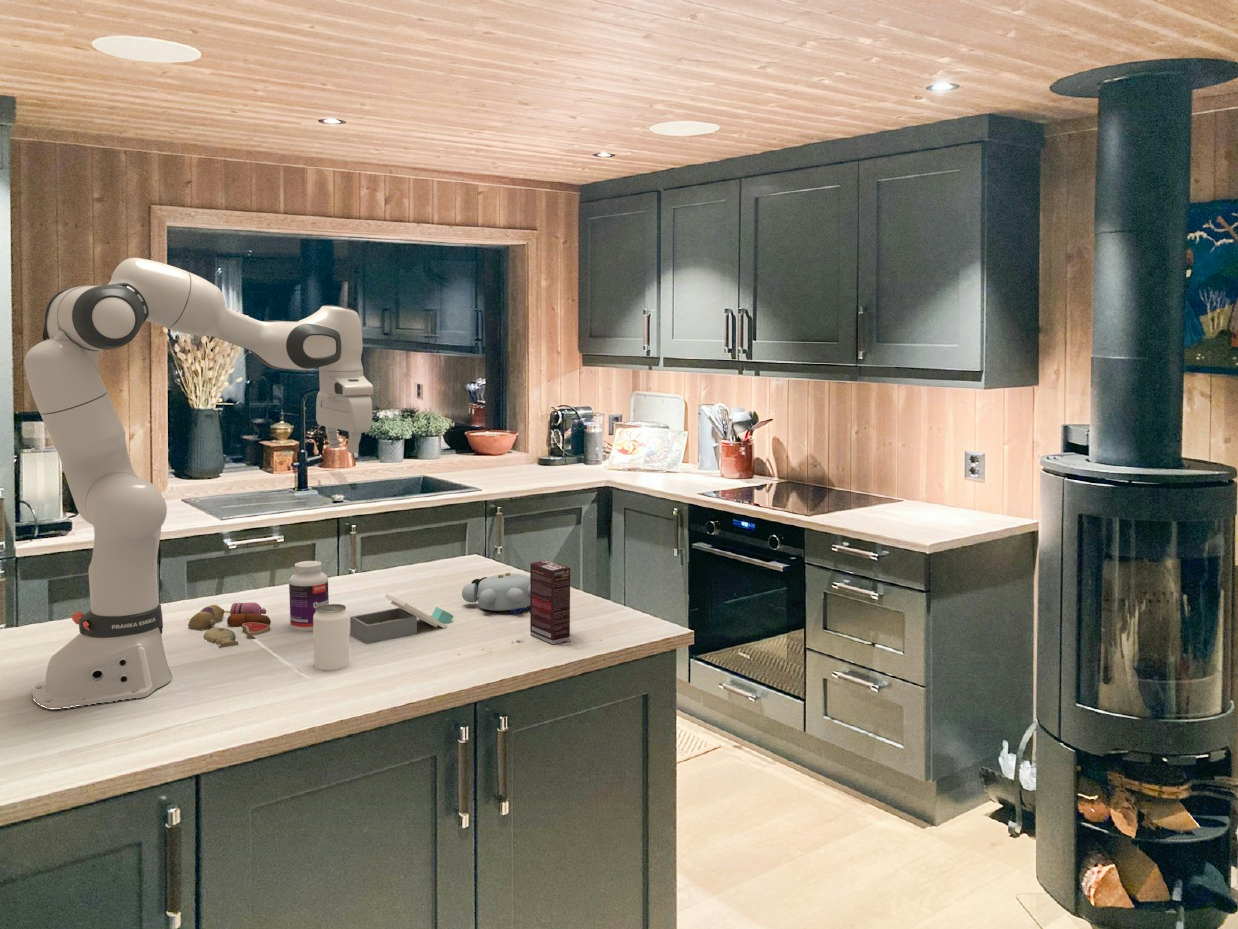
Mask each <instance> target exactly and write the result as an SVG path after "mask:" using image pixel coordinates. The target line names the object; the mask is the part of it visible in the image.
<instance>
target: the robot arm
mask: <svg viewBox="0 0 1238 929" xmlns="http://www.w3.org/2000/svg"><path fill="white" fill-rule="evenodd" d="M110 277H111V278H110V281H109V282H108V284H104V285H91V284H90V285H88V284H86V285H81V286H76V287H70V288H69V287H68V288H66V289H63V290H61V291H59V292H57V293H56V294H54V295H53V296H52V297H51V298H50V300H49V301H48V302H47V305H46V308H45V311H44V318H43V320H44V323H43V329H42V330H43V331H42V340H43V341H40V342H39V343H37V344H35V345H34V346H32V347H31V348H30V349H29V350H28V352H27V353H26V355H24V356H25V357H24V360H23V363H24V364H23V365H24V369H25V375H26V378H27V382H28V386H29V390H30V393H31V396H32V397H33V401H34V403H35V406H36V408H37V410H38V412H39V414H40V416H41V419H42V421H43V423H44V426H45V428H46V430H47V432H48V434H49V437H50V439H51V440H52V444H53V446H54V447H55V450H56V452H57V455H58V456H59V459H60V463H61V465H62V469H63V473H64V476H65V480H66V482H67V485H68V488H69V491H70V494H71V497H72V500H73V502H74V506H75V508H76V509H77V510H76V511H77V512H78V514H79V515H80V517H81V518H82V519H83V520H84V521H86V522H87V523H88V524H90V525H92V526H93V531H94V536H93V537H94V540H93V549H92V555H91V562H90V563H89V565H88V570H87V571H88V584H89V586H88V587H89V601H90V610H89V611H86V613H85V614H84V612H82V611H75V612H74V613H73V614H72V615H71V616H72V617H71V619H72V621H73V622H74V623H75V624H76V625H78V630H79V634H78V635H76V636H75V637H74V638H72V639H71V640H70V641H69V642H68V643H66V644H65V645H64V646H63V647H62V648H60V649H59V650H58V651H57V652H55V653H54V654H52V656H51V657H50V658H49V661H48V664H47V667H46V674H45V681H42V682H39V683H37V684H36V685H35V686H33V688H32V694H31V696H32V695H33V698H34V699H35V701H36V702H37V703H39V704H40V705H43V706H45V707H47V708H63V707H70V706H76V705H88V706H90V705H89V704H94V703H95V705H97V704H96V703H101V702H108V703H114V702H113V701H115V702H119V701H118V700H122V701H125V700H124V699H129V700H131V699H130V698H136V699H140V698H141V699H142V698H146V697H148V696H150V695H151V694H152V693H153V692H154V691H156V690H157V689H159V688H161V687H163V686H166V684H168V683H170V681H172V679H173V675H172V672H171V669H170V666H169V664H168V660H167V658H166V654H165V649H164V648H165V647H164V644H163V636H162V634H163V628H164V619H163V618H164V617H163V609H162V604H160V603H159V588H158V586H159V584H158V571H157V569H158V568H157V567H158V565H157V564H158V554H159V553H158V552H159V546H160V541H161V533H162V527H163V525H164V523H165V520H166V517H167V512H168V509H167V503H166V500H165V498H164V497H163V495H162V493H161V492H160V491H159V489H158V487H157V486H156V485H154V484H153V483H152V482H151V481H149V480H147V479H146V478H145V479H144V478H142V477H139V476H138V475H137V473H136V472H135V470H134V468H133V465H132V463H131V460H130V456H129V451H128V448H127V442H126V432H125V428H124V426H123V424H122V422H121V420H120V418H119V415H118V412H117V409H116V408H115V406H114V404H113V401H112V399H111V397H110V394H109V392H108V390H107V388H106V385H105V383H104V381H103V379H102V376H101V375H100V369H99V356H100V353H101V351H111V350H112V351H113V350H117V349H120V348H123V347H125V346H127V345H129V343H131V342H132V341H133V340H134V338H136V337H137V335H138V334H139V331H140V330H141V328H142V326H143V325H144V323H145V322H148V323H149V322H150V323H152V324H155V325H157V326H160V327H163V328H166V329H168V330H172V331H175V332H178V333H182V334H186V335H191V336H199V337H206V336H207V337H213V338H217V339H219V340H222V341H224V342H227V343H230V344H232V345H235V346H236V347H237V346H238V347H240V348H243V349H245V350H247V351H248V352H249V353H251V354H252V355H253V356H254V357H256V359H257V360H258V361H259V362H260V363H261V364H263V365H264V366H266V367H268V368H269V369H270V368H271V369H274V370H285V369H288V370H299V371H301V370H303V371H310V370H313V369H317V368H318V370H319V372H318V373H319V375H318V376H319V379H318V380H319V391H318V393H317V395H316V401H315V402H316V404H315V405H316V406H315V410H316V411H315V414H316V415H315V419H316V422H317V425H318V426H323V427H325V434H326V436H327V440H328V447H329V448H331V449H339V448H340V447H341V446H340V439H339V438H338V430H340V431H345V432H348V437H349V441H348V443H347V445H346V446H347V452H348V453H350V454H357V453H359V451H360V450H359V449H360V448H359V444H360V442H361V437H362V434H363V433H369V432H370V431H371V428H372V426H373V425H372V424H373V400H372V398H371V396H372V395H374V385H373V384H372V383H371V382H370V381H369V380H368V379H367V378H366V377H365V375H364V367H363V365H362V364H363V363H362V354H363V331H362V324H361V319H360V317H359V314H358V312H357V311H355V310H354V309H353V308H350V307H347V306H341V305H334V304H324V305H322V306H321V307H320V308H319V309H318V310H317V311H316V312H314V313H312V314H311V315H309V316H307V317H305V318H303V319H300V320H298V321H287V320H277V319H276V320H274V319H273V320H264V321H263V320H258V319H256V318H253V317H250V316H249V315H246V314H244V313H242V312H239V311H237V310H234V309H231V308H229V307H227V306H226V301H225V298H224V295H223V293H222V291H221V288H219V287H218V286H217V285H215V284H214V283H212V282H211V281H208V280H207V279H206V278H203V277H201V276H199V275H197V274H194V273H192V272H191V271H190V272H189V271H188V270H185V269H181V268H179V267H177V266H173V265H171V264H167V263H163V262H160V261H156V260H151V259H147V258H142V257H130V258H129V257H128V258H126V259H124V260H123V261H122V262H121V263H119V264H118V265H117V267H116V268H115V269H114V271H113V272H112V275H111V276H110ZM33 698H32V699H33Z"/></svg>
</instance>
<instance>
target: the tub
mask: <svg viewBox="0 0 1238 929" xmlns="http://www.w3.org/2000/svg"><path fill="white" fill-rule="evenodd" d="M399 618H400V619H399ZM349 619H350V620H349V621H350V622H349V623H350V625H349V627H350V630H349V633H350V635H351V636H353V637H355V638H356V639H357V640H358V639H359V640H360V641H362V642H363V643H365V644H367V645H370V644H375V643H379V642H384V641H388V640H393V639H400V638H403V637H409V636H412V635H418V622H417V621H418V618H417V617H416V616H414V615H412V614H410V613H408V612H406V611H404V610H402V609H400V608H398V607H397V608H391V609H385V610H380V611H375V612H374V611H373V612H369V613H364V614H357V615H352V616H349ZM393 619H397V620H393ZM388 620H392V621H388ZM383 621H387V622H383ZM378 622H379V623H378ZM372 623H377V624H372ZM368 624H371V625H368Z"/></svg>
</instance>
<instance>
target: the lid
mask: <svg viewBox="0 0 1238 929" xmlns="http://www.w3.org/2000/svg"><path fill="white" fill-rule="evenodd" d="M384 598H386V599H387V600H390V601H391V603H390V604H391V605H393V606H395V607H397V608H400V609H402V610H404V611H406V612H408V613H410V614H412V615H414V616H416V617H417V619H419V620H421V621H423V622H425V623H426V624H429V625H430V626H433V627H435V628H438V627H441V628H443V629H446V628H447V627H448V625H447V624H450V623H451V622H452V620H453V618H454V615H453V614H451V613H449V612H447V611H446V610H444V609H443V608H441V607H438V606H435V609H434V610H433V612H432V614H431V615H429V614H426V613H425V612H423V611H422V610H419V609H417V608H416V607H414V606H412V605H410V604H408V603H407V602H405V601H402V600H401V599H398V598H397V597H394V596H393V595H390V594H388V593H385V596H384Z"/></svg>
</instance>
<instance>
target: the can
mask: <svg viewBox="0 0 1238 929" xmlns="http://www.w3.org/2000/svg"><path fill="white" fill-rule="evenodd" d="M346 608H347V607H346V606H345V605H344V604H340V603H339V604H338V603H329V604H326V605H321V606H318V607H316V608H315V610H316V612H315V614H314V617H313V630H312V631H313V653H314V654H313V656H314V657H313V658H314V660H313V661H314V667H315V669H316V670H320V671H337V670H341V669H345V668H346V667H349V666H350V630H349V627H350V625H349V623H350V622H349V613H348V611H347V610H346Z"/></svg>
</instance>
